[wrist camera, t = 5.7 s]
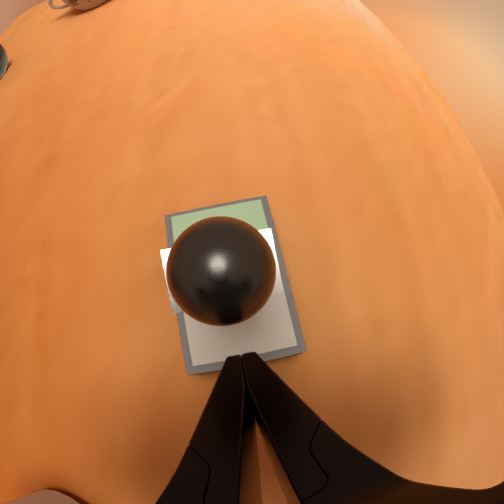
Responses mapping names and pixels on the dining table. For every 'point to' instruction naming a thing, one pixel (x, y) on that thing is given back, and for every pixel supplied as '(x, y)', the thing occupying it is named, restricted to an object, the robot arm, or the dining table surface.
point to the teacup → (78, 4)
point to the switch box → (255, 328)
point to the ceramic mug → (3, 61)
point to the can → (44, 498)
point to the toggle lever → (221, 271)
